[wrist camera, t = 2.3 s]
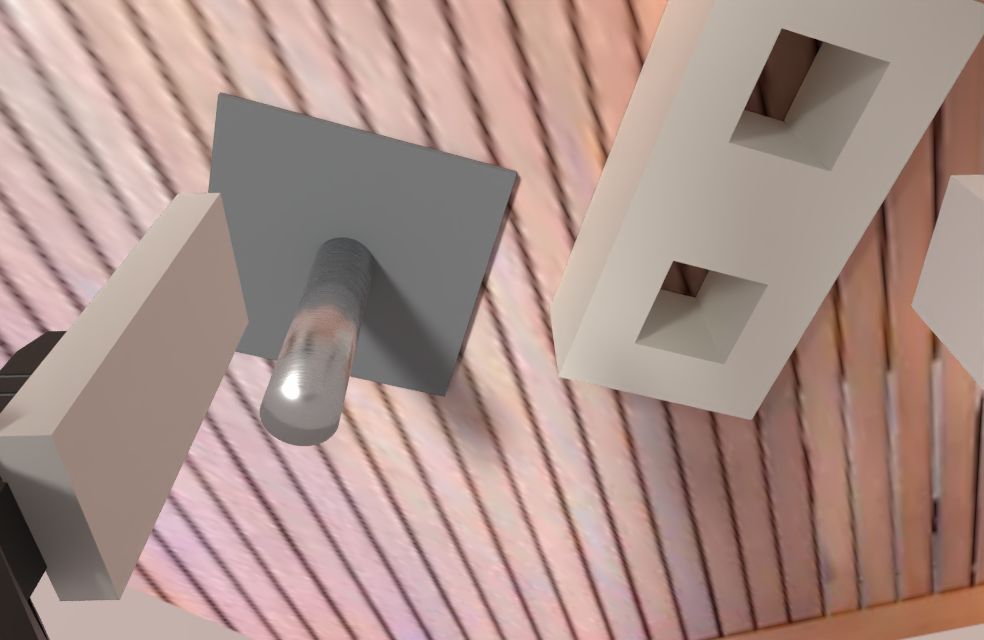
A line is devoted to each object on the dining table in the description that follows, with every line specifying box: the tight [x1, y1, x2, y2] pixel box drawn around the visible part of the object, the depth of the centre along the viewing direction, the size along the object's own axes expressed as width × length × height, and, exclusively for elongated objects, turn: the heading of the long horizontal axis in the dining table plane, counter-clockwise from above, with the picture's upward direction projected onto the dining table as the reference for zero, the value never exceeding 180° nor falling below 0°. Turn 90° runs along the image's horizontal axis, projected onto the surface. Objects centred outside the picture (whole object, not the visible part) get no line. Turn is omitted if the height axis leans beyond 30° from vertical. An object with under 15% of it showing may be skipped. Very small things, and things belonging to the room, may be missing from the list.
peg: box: [260, 237, 374, 446], centre depth 35 cm, size 3×3×12 cm
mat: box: [208, 93, 517, 397], centre depth 41 cm, size 14×14×1 cm
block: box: [550, 0, 984, 420], centre depth 36 cm, size 20×10×6 cm, turn 164°
